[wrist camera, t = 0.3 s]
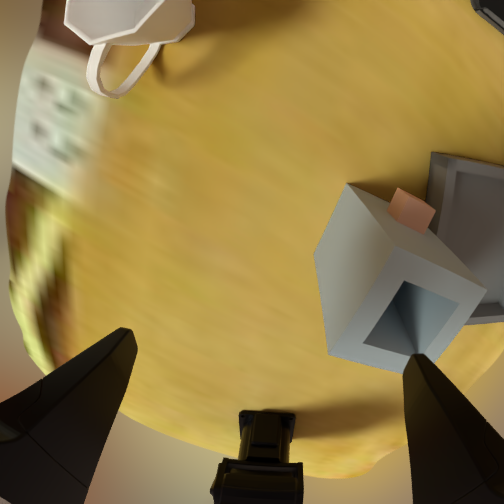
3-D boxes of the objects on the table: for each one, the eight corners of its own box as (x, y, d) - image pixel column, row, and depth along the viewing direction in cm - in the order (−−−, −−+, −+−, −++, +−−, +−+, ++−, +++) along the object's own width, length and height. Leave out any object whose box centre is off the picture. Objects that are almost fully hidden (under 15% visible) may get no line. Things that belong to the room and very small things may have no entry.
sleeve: (378, 279, 24) (421, 377, 14) (313, 254, 24) (328, 354, 14) (422, 196, 21) (504, 261, 11) (355, 162, 21) (413, 209, 11)
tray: (497, 305, 24) (509, 321, 21) (402, 308, 25) (412, 328, 23) (531, 173, 18) (550, 181, 16) (431, 151, 19) (448, 157, 17)
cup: (230, -10, 16) (203, -62, 9) (178, 110, 20) (124, 112, 13) (147, -24, 15) (94, -63, 8) (100, 88, 20) (30, 88, 12)
